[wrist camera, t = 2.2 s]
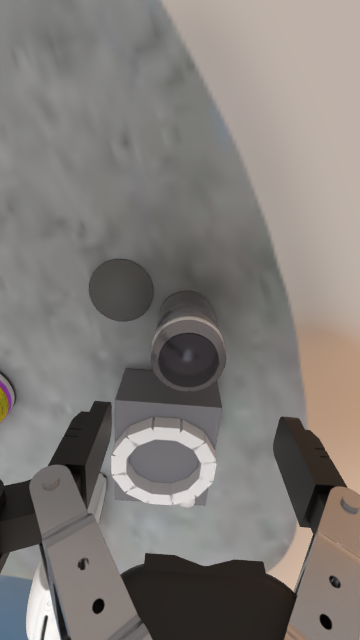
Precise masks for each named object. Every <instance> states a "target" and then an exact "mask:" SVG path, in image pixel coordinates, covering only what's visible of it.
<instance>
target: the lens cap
mask: <svg viewBox="0 0 360 640" xmlns="http://www.w3.org/2000/svg"><path fill="white" fill-rule="evenodd" d="M89 294H90V298H91V300H92V302H93V304H94V306H95V307H96V309H97V310H98V311H99V312H100V313H101V314H103V315H104V316H106V317H108V318H110V319H112V320H116V321H131V320H134V319H137V318H139V317H140V316H142V315H143V314H144V313H145V312H146V311H147V310H148V308H149V306H150V304H151V302H152V298H153V285H152V282H151V279H150V277H149V275H148V274H147V273H146V271H145V270H144V269H143V268H142V267H141V266H139V265H138V264H136V263H134V262H132V261H129V260H124V259H114V260H110V261H108V262H105V263H104V264H102V265H101V266H99V267H98V268H97V269H96V270H95V272H94V273H93V275H92V277H91V279H90V283H89Z"/></svg>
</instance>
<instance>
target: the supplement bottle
mask: <svg viewBox="0 0 360 640" xmlns="http://www.w3.org/2000/svg"><path fill="white" fill-rule="evenodd" d="M13 405H14V392H13V389H12V387H11V385H10V384H9V382H8V381H7V380H6V379H5V378H4V377H3V376H2V375H1V374H0V423H1V422H2V421H3V420H4V419H5V417H6V416H7V415H8V413H9V412H10V411H11V409H12V407H13Z"/></svg>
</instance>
